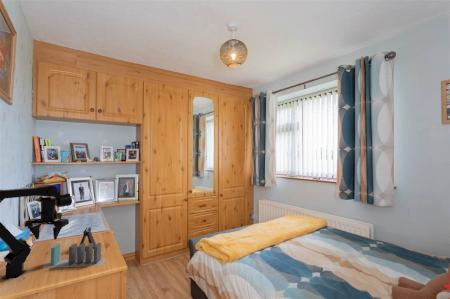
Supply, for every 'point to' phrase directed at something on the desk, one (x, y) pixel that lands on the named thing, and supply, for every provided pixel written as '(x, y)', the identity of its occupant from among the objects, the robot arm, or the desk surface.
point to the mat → (66, 264)
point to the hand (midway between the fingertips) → (46, 239)
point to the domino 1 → (55, 254)
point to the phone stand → (90, 237)
